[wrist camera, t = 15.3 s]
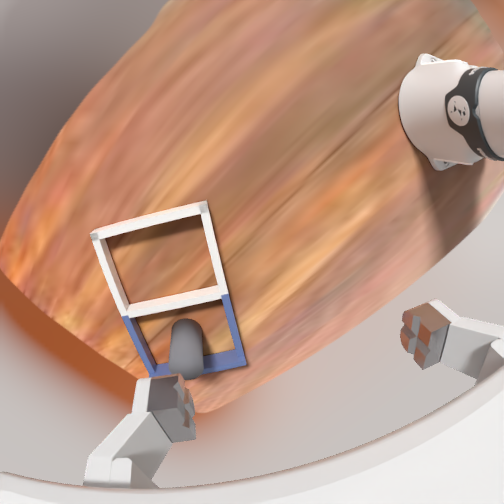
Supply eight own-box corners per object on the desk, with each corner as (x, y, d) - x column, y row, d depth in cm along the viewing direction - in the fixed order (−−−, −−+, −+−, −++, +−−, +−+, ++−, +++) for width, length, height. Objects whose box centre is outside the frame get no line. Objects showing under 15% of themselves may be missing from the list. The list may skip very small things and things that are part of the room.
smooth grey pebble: (197, 315, 42) (197, 351, 35) (205, 339, 44) (207, 376, 36) (167, 322, 42) (163, 358, 34) (177, 345, 43) (175, 382, 36)
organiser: (206, 200, 36) (207, 205, 34) (243, 352, 46) (246, 364, 43) (94, 229, 35) (87, 236, 32) (152, 370, 44) (151, 382, 42)
